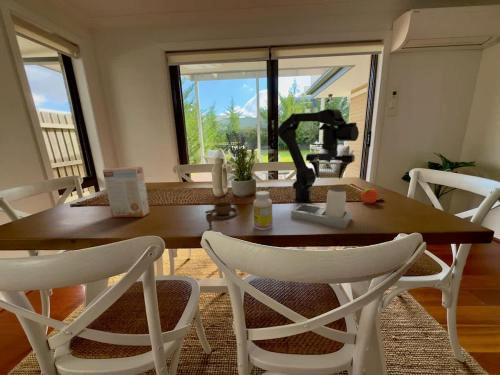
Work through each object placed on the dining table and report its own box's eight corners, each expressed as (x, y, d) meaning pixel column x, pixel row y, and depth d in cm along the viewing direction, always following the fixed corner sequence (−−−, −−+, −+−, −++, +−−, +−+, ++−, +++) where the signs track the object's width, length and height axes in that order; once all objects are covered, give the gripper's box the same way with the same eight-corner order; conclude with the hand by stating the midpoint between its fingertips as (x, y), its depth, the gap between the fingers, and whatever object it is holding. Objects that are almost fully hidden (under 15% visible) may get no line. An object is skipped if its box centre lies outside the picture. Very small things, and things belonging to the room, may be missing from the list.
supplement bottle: (253, 223, 81) (252, 190, 78) (270, 222, 82) (270, 189, 79) (255, 231, 75) (254, 195, 72) (274, 230, 76) (273, 194, 72)
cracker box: (150, 212, 98) (143, 166, 92) (143, 217, 92) (135, 168, 87) (120, 212, 99) (111, 167, 93) (111, 217, 93) (101, 169, 88)
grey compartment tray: (291, 217, 86) (291, 210, 85) (301, 209, 94) (301, 203, 93) (344, 229, 74) (345, 220, 74) (351, 218, 83) (351, 211, 82)
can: (344, 224, 78) (348, 192, 75) (325, 222, 79) (329, 191, 76) (341, 217, 84) (345, 187, 81) (323, 215, 86) (326, 186, 82)
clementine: (369, 207, 94) (370, 191, 92) (355, 202, 100) (356, 188, 98) (380, 203, 98) (382, 188, 96) (366, 199, 104) (367, 185, 102)
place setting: (248, 215, 91) (248, 202, 90) (211, 232, 77) (209, 217, 75) (221, 207, 103) (220, 195, 101) (183, 221, 88) (182, 207, 87)
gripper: (301, 142, 89) (300, 179, 93) (350, 141, 78) (347, 183, 82) (311, 140, 98) (309, 174, 102) (356, 140, 87) (353, 178, 91)
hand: (328, 177), depth 94 cm, fingers open, 9 cm apart
